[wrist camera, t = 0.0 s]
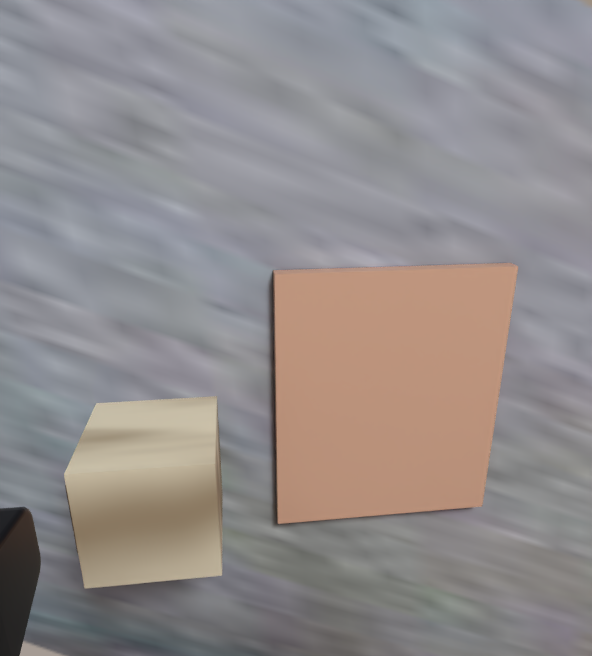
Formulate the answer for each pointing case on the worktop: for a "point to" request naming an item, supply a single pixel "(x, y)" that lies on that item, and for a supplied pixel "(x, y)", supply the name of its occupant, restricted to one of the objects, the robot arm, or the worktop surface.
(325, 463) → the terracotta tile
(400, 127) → the worktop surface
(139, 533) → the beige cube
